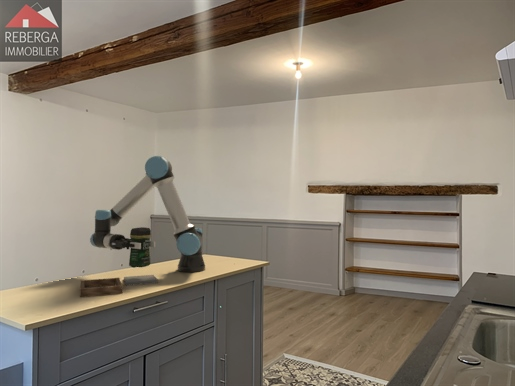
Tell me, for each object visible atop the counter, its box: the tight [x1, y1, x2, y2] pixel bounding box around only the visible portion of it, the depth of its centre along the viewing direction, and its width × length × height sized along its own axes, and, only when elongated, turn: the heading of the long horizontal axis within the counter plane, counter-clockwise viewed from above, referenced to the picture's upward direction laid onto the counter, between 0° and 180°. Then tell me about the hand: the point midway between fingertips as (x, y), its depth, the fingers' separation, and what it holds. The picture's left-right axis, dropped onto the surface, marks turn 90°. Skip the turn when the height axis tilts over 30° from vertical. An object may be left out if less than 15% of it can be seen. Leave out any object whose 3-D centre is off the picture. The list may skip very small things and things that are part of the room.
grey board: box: [123, 274, 159, 286], centre depth 182 cm, size 14×13×2 cm
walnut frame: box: [79, 277, 123, 298], centre depth 164 cm, size 16×18×3 cm
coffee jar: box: [128, 226, 152, 268], centre depth 182 cm, size 10×8×19 cm
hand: (147, 245), depth 180 cm, fingers closed on coffee jar, 8 cm apart
